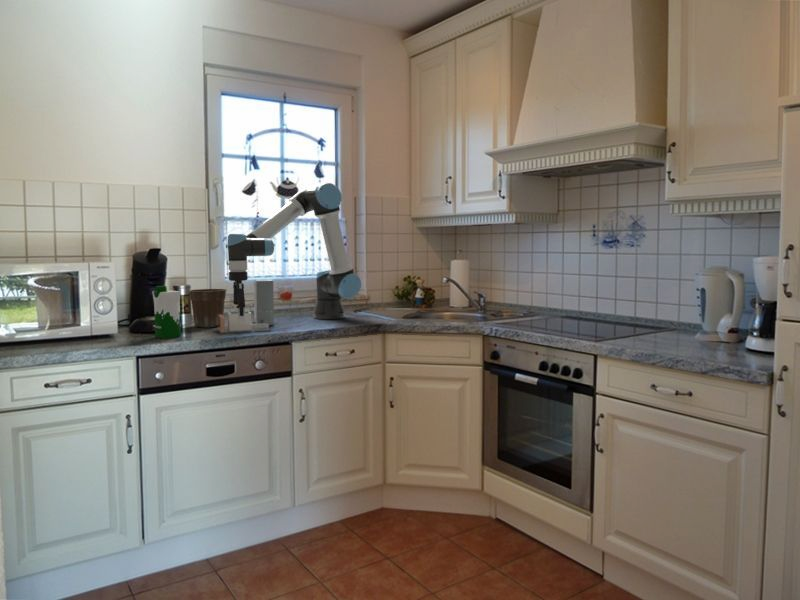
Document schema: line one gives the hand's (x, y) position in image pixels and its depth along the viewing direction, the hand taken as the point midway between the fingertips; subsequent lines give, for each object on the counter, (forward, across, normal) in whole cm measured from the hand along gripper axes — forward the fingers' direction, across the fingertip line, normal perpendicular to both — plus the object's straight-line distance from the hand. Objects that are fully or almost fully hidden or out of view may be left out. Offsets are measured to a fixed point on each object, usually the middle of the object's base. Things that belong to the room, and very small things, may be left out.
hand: (239, 321), depth 256 cm
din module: (+3, 0, 0) cm, 3 cm away
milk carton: (+4, +7, -28) cm, 29 cm away
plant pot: (+4, -20, -11) cm, 23 cm away
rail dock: (+4, 0, +2) cm, 4 cm away
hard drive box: (+4, -19, +13) cm, 23 cm away
